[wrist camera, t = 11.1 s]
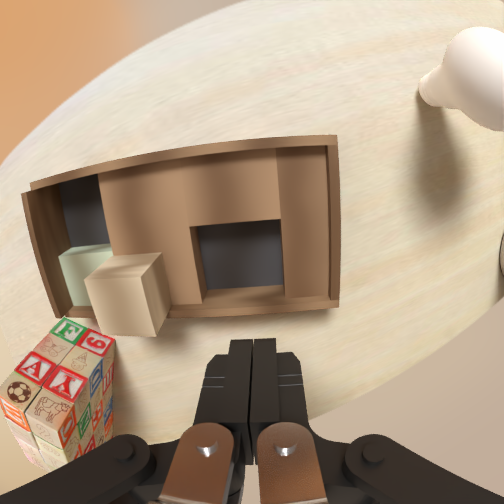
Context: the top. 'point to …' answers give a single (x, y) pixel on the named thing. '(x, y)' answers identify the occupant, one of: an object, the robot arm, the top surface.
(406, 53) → the top surface
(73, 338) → the stack of blocks
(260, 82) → the top surface
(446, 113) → the top surface
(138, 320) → the beech block
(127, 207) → the board
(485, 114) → the lightbulb
